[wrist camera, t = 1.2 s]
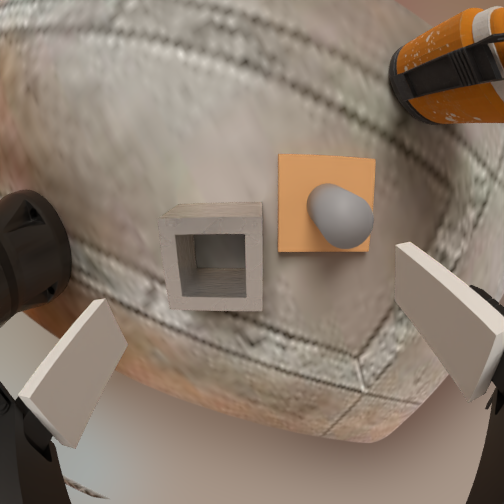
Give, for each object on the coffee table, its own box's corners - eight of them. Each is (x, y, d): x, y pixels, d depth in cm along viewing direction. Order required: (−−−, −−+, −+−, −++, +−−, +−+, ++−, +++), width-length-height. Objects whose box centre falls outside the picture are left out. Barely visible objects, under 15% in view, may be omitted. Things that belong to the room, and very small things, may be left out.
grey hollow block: (185, 279, 29) (169, 309, 24) (178, 204, 27) (157, 218, 21) (262, 280, 29) (262, 311, 23) (261, 202, 26) (262, 216, 21)
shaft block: (277, 247, 28) (283, 281, 21) (278, 154, 25) (284, 155, 18) (364, 247, 27) (394, 278, 20) (370, 158, 24) (407, 163, 17)
